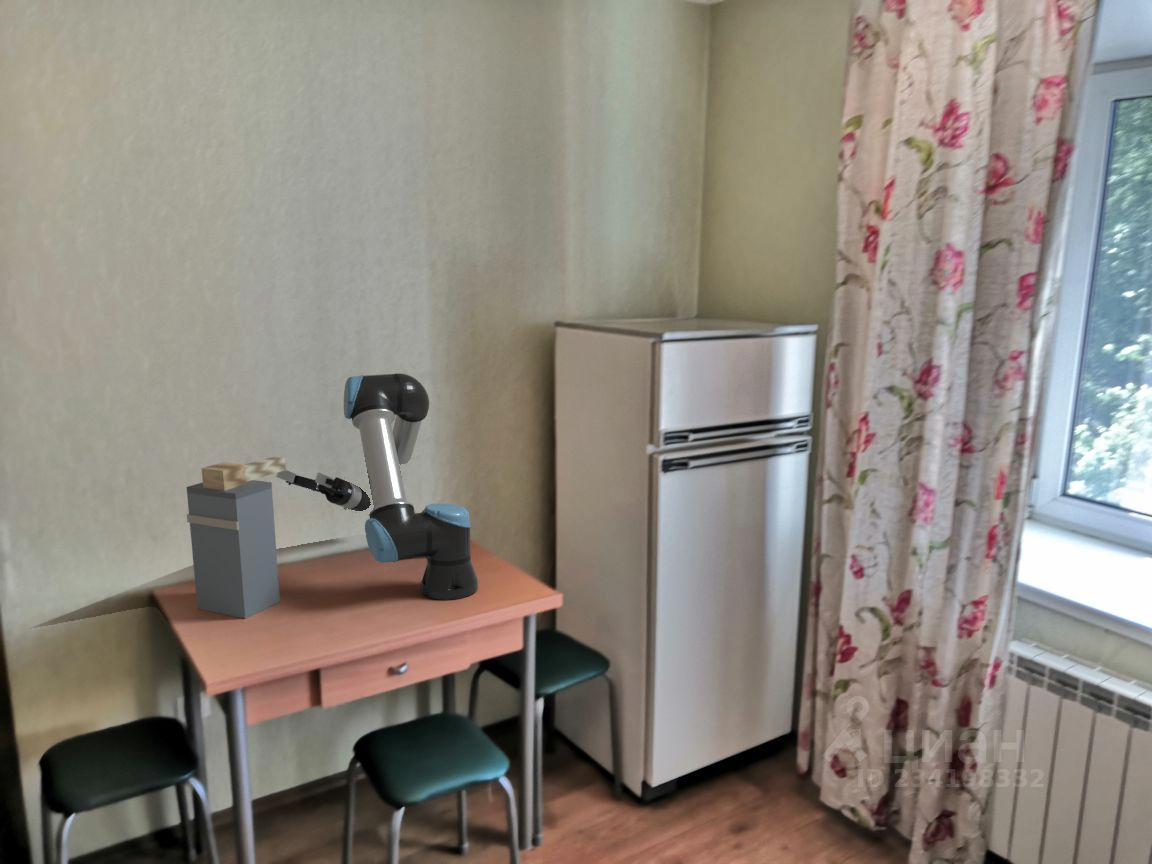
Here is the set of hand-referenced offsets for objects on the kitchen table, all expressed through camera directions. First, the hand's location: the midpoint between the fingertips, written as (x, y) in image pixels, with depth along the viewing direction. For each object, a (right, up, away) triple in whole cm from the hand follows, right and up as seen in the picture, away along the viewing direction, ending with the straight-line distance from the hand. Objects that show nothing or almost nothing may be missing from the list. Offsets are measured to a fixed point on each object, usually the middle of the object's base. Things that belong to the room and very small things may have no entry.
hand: (297, 474), depth 236 cm
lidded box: (-10, -33, -16) cm, 38 cm away
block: (-7, 0, -17) cm, 19 cm away
